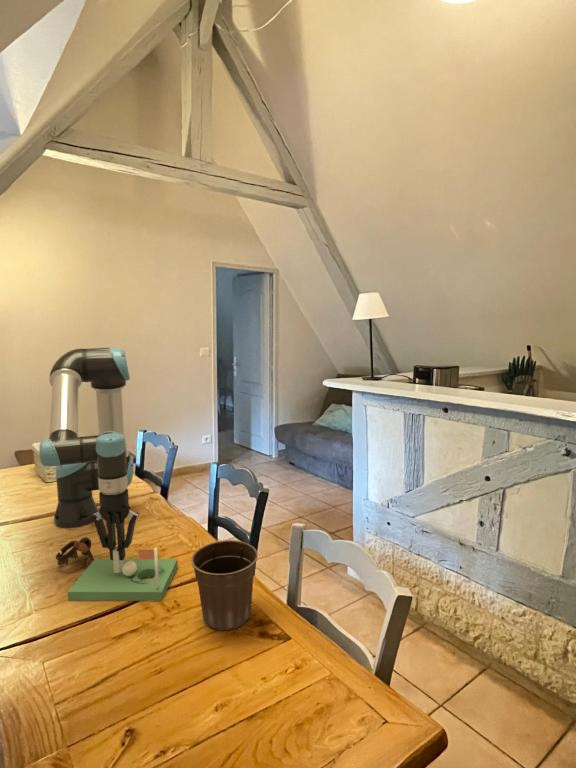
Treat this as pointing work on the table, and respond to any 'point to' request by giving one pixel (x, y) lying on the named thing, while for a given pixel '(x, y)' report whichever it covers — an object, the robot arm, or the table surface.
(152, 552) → the flag pin
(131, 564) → the ball
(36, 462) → the storage basket
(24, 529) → the table surface
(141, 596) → the green
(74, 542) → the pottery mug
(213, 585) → the plant pot
